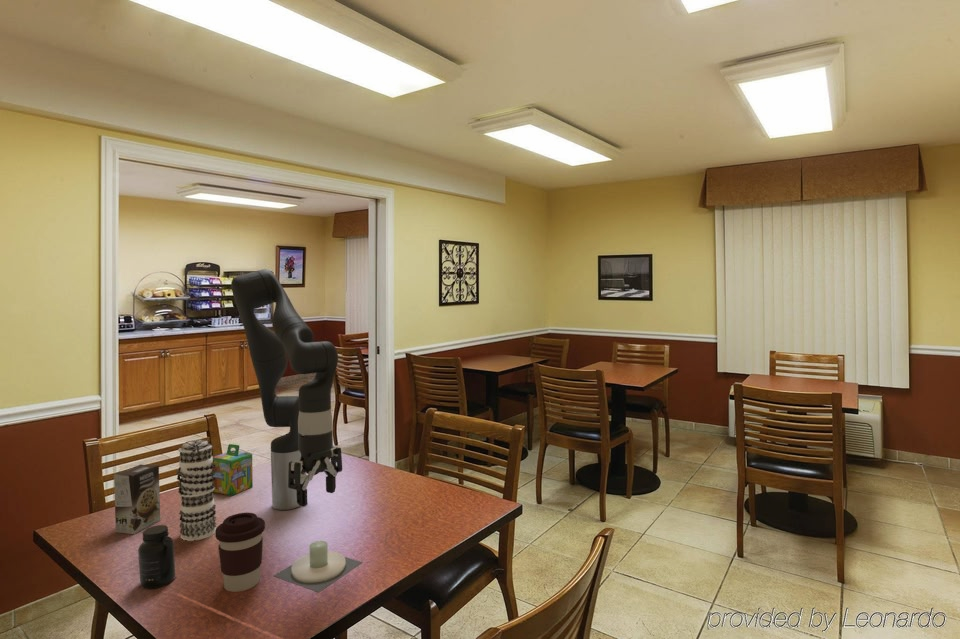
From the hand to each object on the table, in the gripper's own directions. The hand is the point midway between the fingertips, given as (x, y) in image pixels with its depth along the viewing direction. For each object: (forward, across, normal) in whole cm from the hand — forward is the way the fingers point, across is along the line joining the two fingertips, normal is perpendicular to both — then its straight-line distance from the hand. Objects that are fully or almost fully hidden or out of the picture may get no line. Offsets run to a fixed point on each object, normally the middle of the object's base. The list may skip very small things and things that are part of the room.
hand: (316, 498), depth 120 cm
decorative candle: (+17, +1, -43) cm, 46 cm away
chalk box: (+17, -24, -63) cm, 70 cm away
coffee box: (+17, +6, -62) cm, 65 cm away
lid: (+17, 0, 0) cm, 17 cm away
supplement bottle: (+18, +20, -29) cm, 39 cm away
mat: (+17, 0, 0) cm, 17 cm away
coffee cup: (+18, +12, -11) cm, 24 cm away
